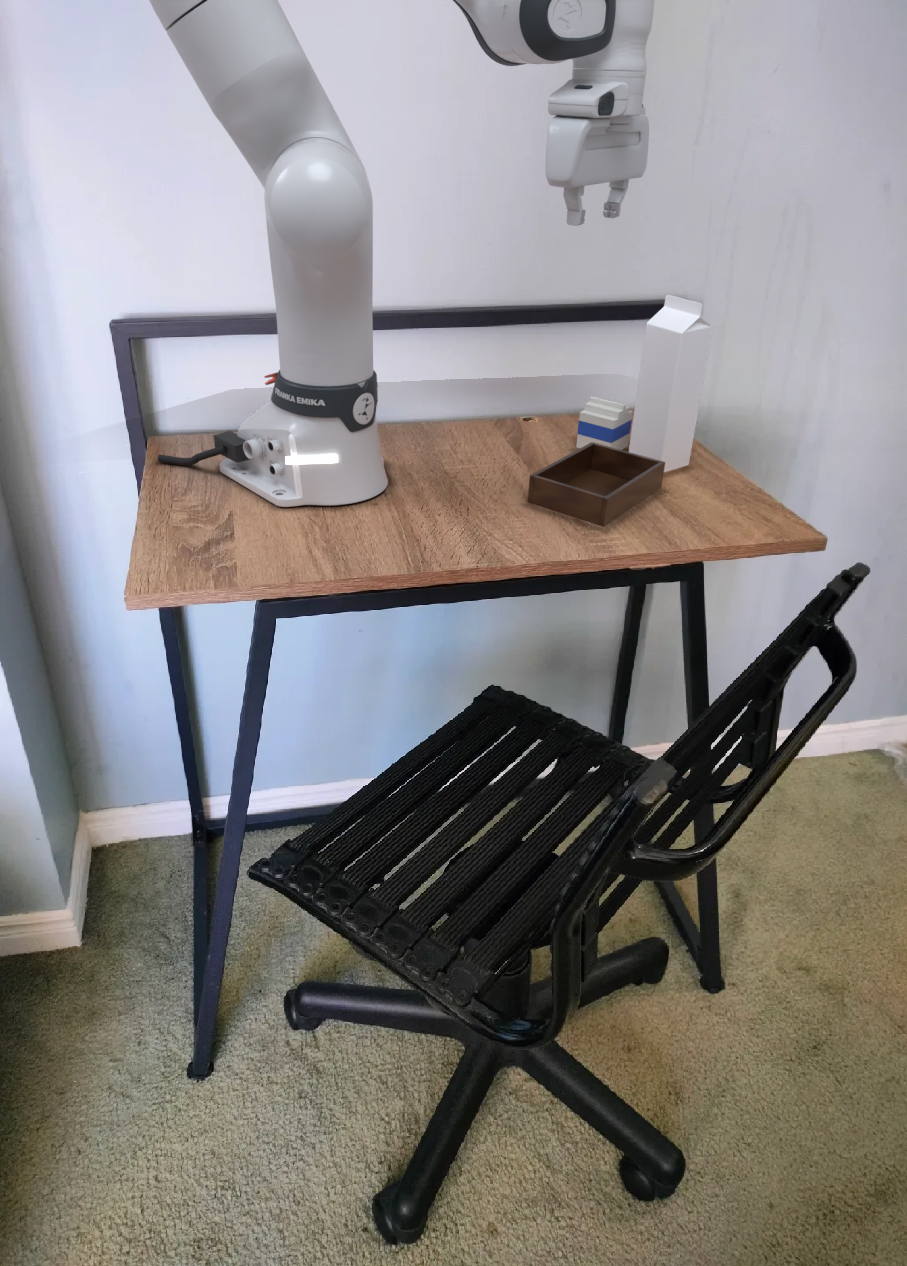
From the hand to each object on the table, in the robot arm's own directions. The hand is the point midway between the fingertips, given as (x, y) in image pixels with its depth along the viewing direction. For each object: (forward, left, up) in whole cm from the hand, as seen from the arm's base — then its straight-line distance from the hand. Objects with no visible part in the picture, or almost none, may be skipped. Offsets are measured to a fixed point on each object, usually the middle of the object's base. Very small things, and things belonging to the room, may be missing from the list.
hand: (593, 220), depth 119 cm
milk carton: (+6, -2, -29) cm, 30 cm away
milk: (+15, -2, -29) cm, 33 cm away
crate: (+14, -18, -29) cm, 37 cm away
